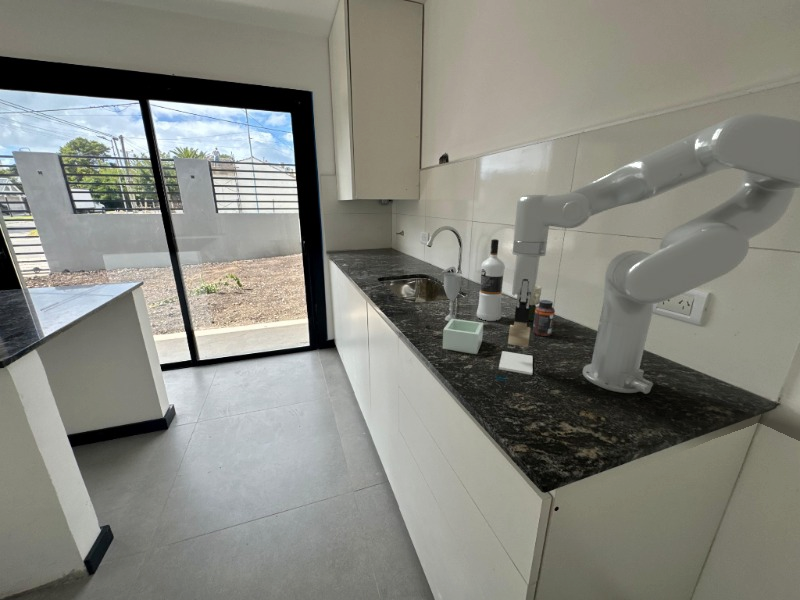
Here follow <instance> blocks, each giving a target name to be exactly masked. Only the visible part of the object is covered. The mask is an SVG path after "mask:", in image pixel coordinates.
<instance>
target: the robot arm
mask: <svg viewBox="0 0 800 600" xmlns="http://www.w3.org/2000/svg"><path fill="white" fill-rule="evenodd" d="M728 169H734V170H735V169H736V170H740V171H744V172H743V174H742V179H741V183H740V186H739V188H738V189H737V191H736V192H735V193H734V194H733V195H732V196H731V197H729V198H728V199H726V200H725V201H724V202H722V203H720V204H718V205H717V206H715V207H713V208H711V209H709V210H708V211H706V212H703V213H702V214H700V215H698V216H696V217H694V218H692V219H690V220H688V221H686V222H685V223H682V224H681V225H678V226H676V227H674V228H673V229H671V230H670V231H668V232H667V233H666V234H665V235H664V236H663V238H662V240H661V242H660V244H659V250H657V251H655V252H653V253H649V252H647V251H643V250H628V251H624V252H621V253H619V254H617V255H616V256H615V257H613V259H612V260H610V261H609V264H608V265H607V267H606V271H605V276H604V290H603V299H602V304H601V305H602V306H601V312H600V315H599V322H598V326H597V331H596V338H595V343H594V347H593V354H592V358H591V359H592V360H591V362H590V363H589V364H586V365H584V367H582V368H583V369H582V375H583V377H584V378H585V379H586V380H587V381H588V382H590V383H592V384H593V385H595V386H597V387H600V388H603V389H604V390H607V391H612V392H617V393H622V394H623V393H624V394H634V393H638V392H640V393H641V392H642V393H643V394H645V395H646V394H649V393H650V392H651V390H652V387H653V386H654V383H653V382H652V381H650V380H648V379H645V378H644V372H645V371H644V370H643V369H641V368H640V366H641V363H642V359H643V354H644V349H645V345H646V341H647V336H648V333H649V329H650V325H651V323H652V322H651V321H652V317H653V310H654V304H659V303H664V302H666V301H669V300H671V299H673V298H675V297H678V296H681V295H683V294H685V293H687V292H689V291H693V290H694V289H696V288H699V287H700V286H703V285H705V284H707V283H709V282H712V281H714V280H716V279H718V278H721V277H722V276H724V275H727V274H728V273H730V272H731V271H733V270H734V269H736V268H737V267H738V266H739V265H740V264H741V263H742V262H743V261H744V260H745V258H746V257H747V255H748V253H749V248H750V242H749V240H750V239H752V238H754V237H756V236H758V235H760V234H762V233H764V232H765V231H768V230H769V229H771V228H772V227H773V226H774V225H776V224H777V223H778V222H779V221H780V220H781V219H782V217H784V215H785V214H786V212H787V210H788V208H789V206H790V204H791V202H792V200H793V197H794V195H795V191H796V189H798V188H799V189H800V120H797V119H793V118H786V117H779V116H775V115H768V114H759V113H745V114H743V113H742V114H738V115H734V116H732V117H730V118H729V117H728V119H725V120H722V121H721V122H717V123H715V124H713V125H711V126H709V127H708V126H707V127H706V128H703V129H702V130H699V131H697V132H695V133H693V134H690V135H688V136H685V137H684V138H682V139H679V140H677V141H675V142H673V143H671V144H669V145H666V146H664V147H662V148H660V149H658V150H655V151H653V152H650V153H648V154H646V155H644V156H642V157H640V158H638V159H635V160H633V161H631V162H629V163H627V164H625V165H623V166H621V167H620V168H617V169H616V170H614V171H613V172H611V173H609V174H607V175H604V176H603V177H601V178H598V179H596V180H594V181H592V182H590V183H587V184H585V185H583V186H581V187H579V188H576V189H574V190H572V191H570V192H567V193H563V194H556V195H547V194H527V195H522V196H520V197H519V198H518V200H517V204H516V212H515V214H516V215H515V223H514V233H513V243H512V244H513V245H512V255H515V256H516V258H515V264H514V270H513V271H514V272H513V283H512V292H511V295H513V297H514V296H515V295H517V294H518V301H517V300H516V303H517V306H515V312H514V313H515V314H514V321H515V322H521V323H527V324H528V323H529V320H528V317H529V309H530V308H529V306H530V303H529V300H530V297H532V296H533V293H534V289H535V285H537V284H536V283H537V279H538V271H539V265H540V258H541V257H545V256H546V254H547V253H546V252H547V247H548V246H547V245H548V236H549V230H550V229H549V228H550V227H555V228H563V229H575V228H579V227H581V226H582V225H584V224H585V223H586V222H587V221H588V220H589V219H590V217H593V216H595V215H598V214H600V213H603V212H605V211H608V210H612V209H614V208H617V207H620V206H625V205H630V204H637V203H640V202H643V201H646V200H649V199H653V198H655V197H657V196H659V195H662V194H665V193H667V192H670V191H671V190H674V189H676V188H679V187H682V186H685V185H687V184H688V183H689V184H690V183H692V182H694V181H698V180H699V179H701V178H702V179H703V178H704V177H706V176H709V175H711V174H712V175H713V174H715V173H717V172H720V171H724V170H728ZM520 293H521V295H520ZM527 293H529V294H528V295H527ZM520 298H521V299H520ZM526 298H527V299H526ZM519 303H520V304H519ZM514 321H513V322H514Z"/></svg>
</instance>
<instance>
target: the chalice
mask: <svg viewBox="0 0 800 600" xmlns="http://www.w3.org/2000/svg"><path fill="white" fill-rule="evenodd" d="M442 274H443V277H444V278H443V279H444V280H443V289H444V292H445V294H446V297H447V299H449V301H450V302H449V304H448V305H449V308H448V310H449V314H447V315H446V316H445V318H444V320H445V321H448V322H449V321H450V320H451V319H457V318H456V315H454V314H453V311H454V300H455V299H457V297H458V295H459V293H460V291H461V288H462V287H461V286H462V277H463V274H462V273H460V272H444V273H442Z"/></svg>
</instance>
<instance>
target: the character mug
mask: <svg viewBox="0 0 800 600" xmlns="http://www.w3.org/2000/svg"><path fill="white" fill-rule="evenodd" d="M541 295H542V286H540V285H537V284H536V285H535V289H534V293H533V296H532V297H530V306H529V308H530V309H529V317H528V321H529V320H530V321H534V316H535V309H536V307H537V306H538V305H539V302H540V300H541V299H540V298H541ZM536 305H537V306H536Z"/></svg>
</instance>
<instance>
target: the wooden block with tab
mask: <svg viewBox="0 0 800 600" xmlns="http://www.w3.org/2000/svg"><path fill="white" fill-rule="evenodd" d="M528 294H529V293H527V295H528ZM516 295H517V296H516V306H517V301H518V294H516ZM520 295H521V293H520ZM520 299H521V298H520ZM526 299H527V298H526ZM529 303H530V300H529ZM519 304H520V303H519ZM516 306H515V307H516ZM513 322H514V323H513V325H512V324H510V325H509V329H508V330H509V331H508V339H507V340H508V341H507V344H508V345H514V346H520V347H527V348H529V342H530V334H531V327H529V326H528V323H521V322H515V321H513Z"/></svg>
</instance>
